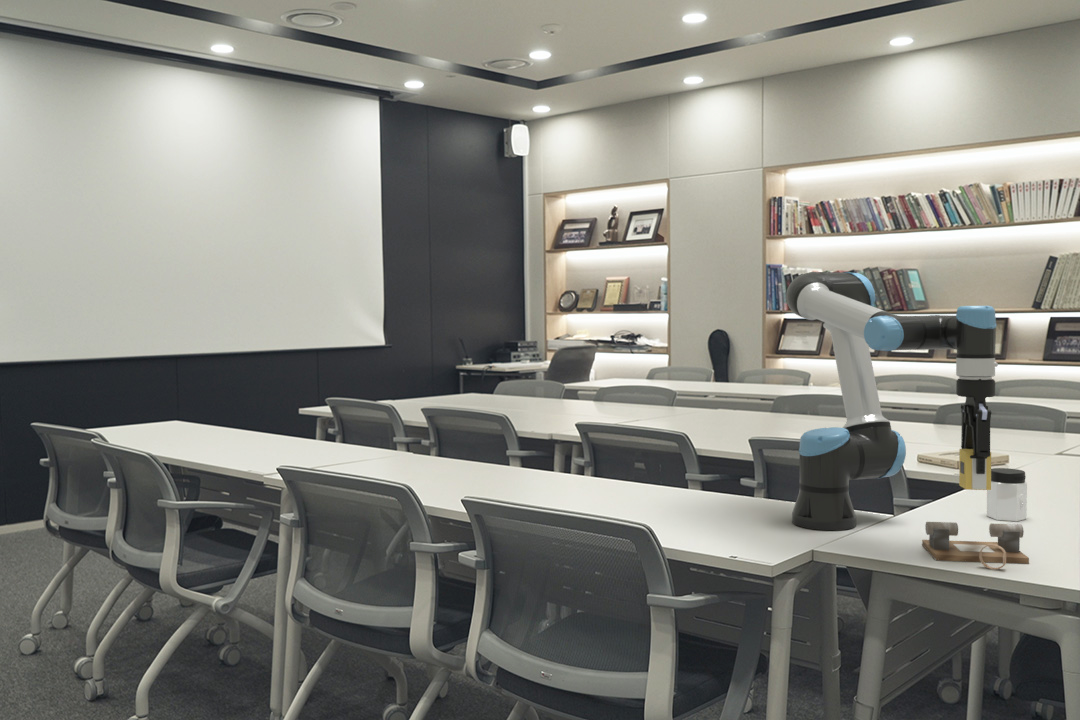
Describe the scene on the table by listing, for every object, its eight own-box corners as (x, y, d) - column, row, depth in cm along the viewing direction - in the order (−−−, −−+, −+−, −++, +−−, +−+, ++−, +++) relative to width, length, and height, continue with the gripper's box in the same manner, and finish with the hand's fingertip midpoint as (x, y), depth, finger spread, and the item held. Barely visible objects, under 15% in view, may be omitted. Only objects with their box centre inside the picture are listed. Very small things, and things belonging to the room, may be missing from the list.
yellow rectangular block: (964, 489, 195) (965, 452, 195) (958, 485, 200) (958, 448, 200) (991, 489, 194) (991, 452, 194) (984, 485, 199) (984, 449, 199)
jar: (1012, 523, 227) (1013, 474, 226) (981, 517, 233) (981, 470, 233) (1032, 518, 231) (1033, 471, 231) (1000, 512, 238) (1001, 466, 238)
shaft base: (934, 560, 194) (934, 528, 193) (919, 545, 206) (920, 515, 206) (1031, 563, 190) (1032, 531, 190) (1010, 547, 203) (1011, 517, 203)
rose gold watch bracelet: (1004, 572, 185) (1004, 547, 184) (978, 568, 187) (978, 544, 187) (1006, 568, 187) (1006, 544, 187) (980, 565, 189) (980, 541, 189)
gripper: (1008, 380, 187) (1007, 494, 188) (982, 375, 205) (981, 479, 205) (968, 380, 188) (968, 493, 189) (946, 375, 206) (945, 479, 207)
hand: (975, 486), depth 197 cm, fingers closed on yellow rectangular block, 5 cm apart
